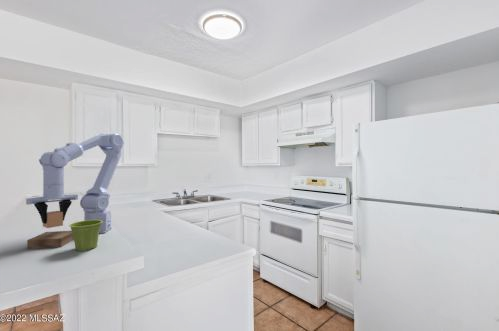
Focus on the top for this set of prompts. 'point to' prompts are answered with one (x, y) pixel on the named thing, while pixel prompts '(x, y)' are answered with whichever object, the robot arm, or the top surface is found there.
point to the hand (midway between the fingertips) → (53, 221)
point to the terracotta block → (54, 219)
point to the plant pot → (86, 234)
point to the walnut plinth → (50, 239)
